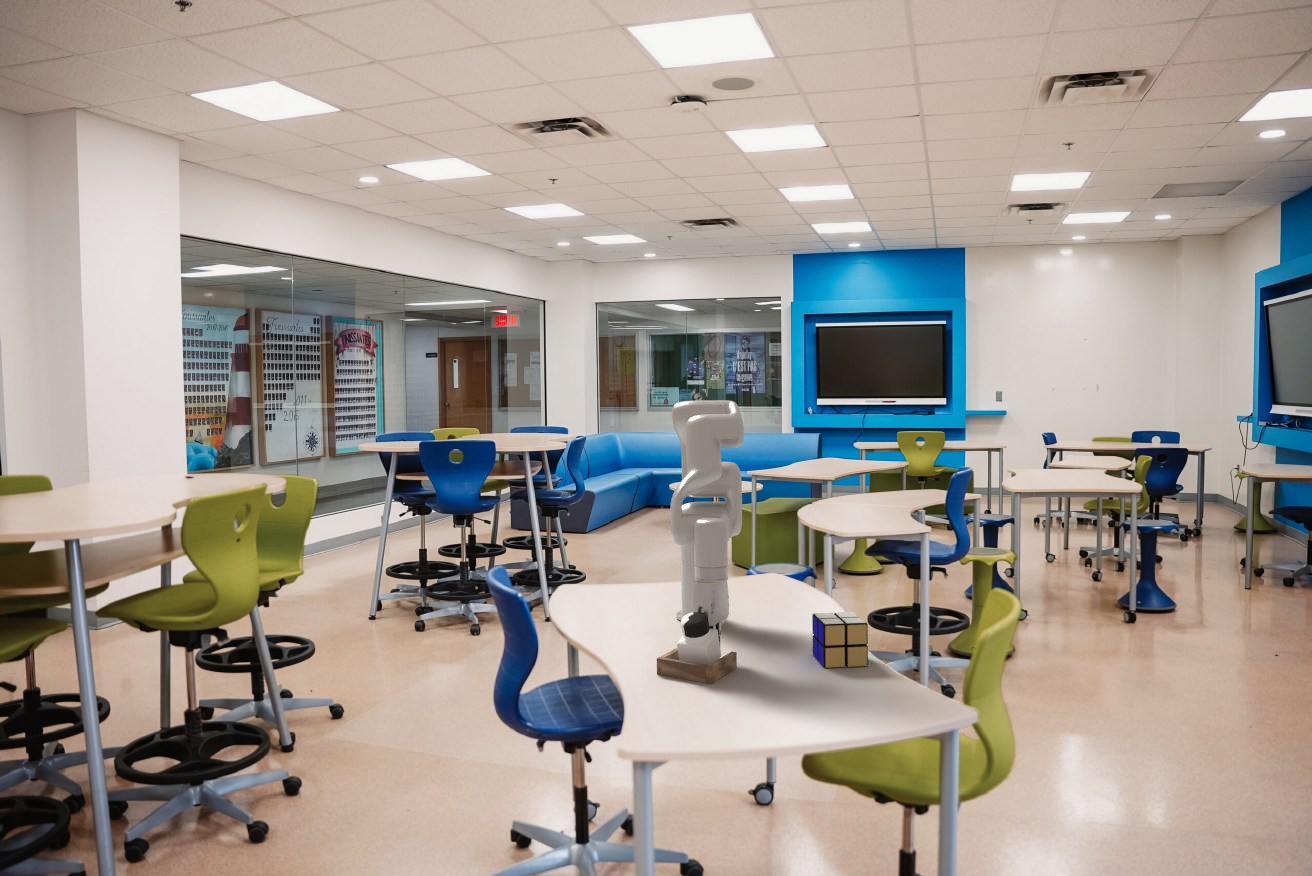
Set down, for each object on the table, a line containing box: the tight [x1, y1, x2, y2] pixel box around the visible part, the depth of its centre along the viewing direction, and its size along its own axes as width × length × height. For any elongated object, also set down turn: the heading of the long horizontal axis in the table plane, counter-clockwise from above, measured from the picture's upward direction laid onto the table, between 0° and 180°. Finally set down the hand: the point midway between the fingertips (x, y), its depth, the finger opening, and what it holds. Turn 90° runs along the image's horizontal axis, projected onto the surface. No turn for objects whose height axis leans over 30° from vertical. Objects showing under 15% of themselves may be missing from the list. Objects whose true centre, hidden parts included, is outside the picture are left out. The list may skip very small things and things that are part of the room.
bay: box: [656, 647, 738, 685], centre depth 192 cm, size 12×13×4 cm
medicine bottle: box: [676, 612, 722, 665], centre depth 192 cm, size 7×7×12 cm
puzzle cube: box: [811, 611, 869, 669], centre depth 197 cm, size 10×10×10 cm
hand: (712, 653), depth 198 cm, fingers closed
